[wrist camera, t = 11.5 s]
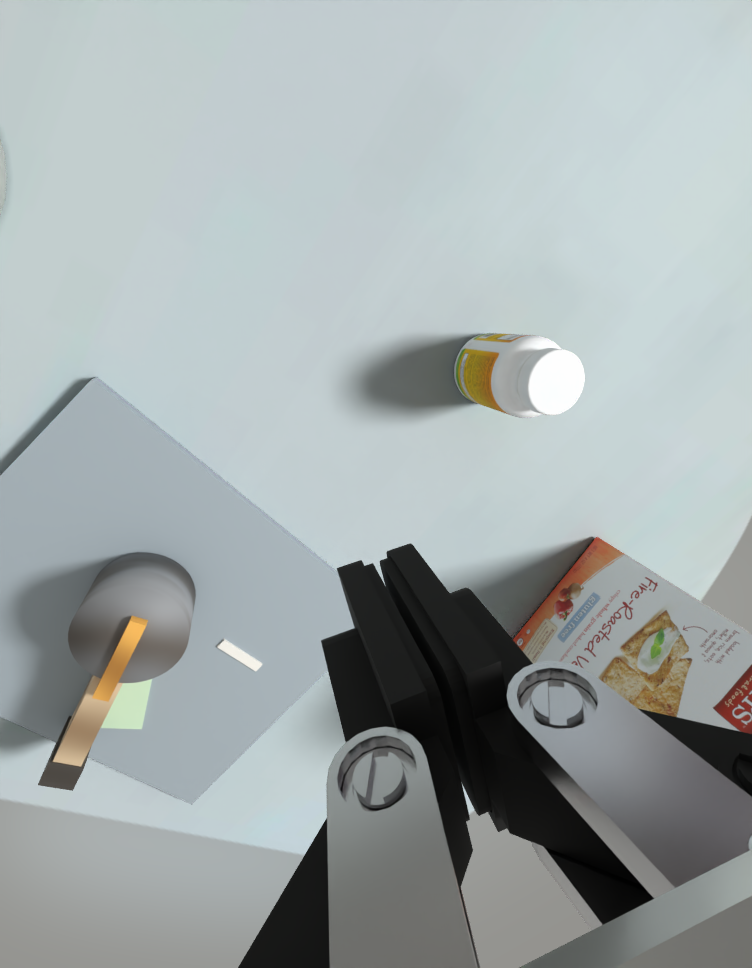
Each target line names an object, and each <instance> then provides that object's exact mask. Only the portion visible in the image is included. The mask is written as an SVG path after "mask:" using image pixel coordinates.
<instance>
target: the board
mask: <svg viewBox="0 0 752 968" xmlns="http://www.w3.org/2000/svg"><path fill="white" fill-rule="evenodd" d="M134 553H154V554H159V555H163V556H166V557H168V558H171V559H172V560H174V561H176V562H177V563H179V564H180V565H182V566H183V567H184V568H185V569H186V571H187V572H188V573H189V574H190V576H191V578H192V580H193V582H194V585H195V590H196V598H195V605H194V611H193V617H192V623H191V630H190V636H189V641H188V645H187V648H186V650H185V653H184V654H183V656H182V657H181V659H180V660H179V661H178V662H177V663H176V664H175V665H174V666H173V667H172V668H171V669H170V670H168V671H167V672H165V673H163V674H162V675H160V676H158V677H155V678H153V679H150V680H147V681H142V682H136V683H123V684H122V686H121V688H120V690H119V692H118V694H117V696H116V698H115V700H114V702H113V704H112V706H111V708H110V710H109V712H108V714H107V716H106V718H105V720H104V722H103V724H102V726H101V728H100V730H99V732H98V734H97V736H96V738H95V740H94V742H93V744H92V746H91V749H90V752H89V755H88V757H89V758H91V759H93V760H96V761H98V762H100V763H102V764H104V765H106V766H109V767H111V768H113V769H115V770H117V771H120V772H122V773H124V774H126V775H128V776H130V777H133V778H135V779H137V780H139V781H141V782H144V783H146V784H148V785H150V786H152V787H154V788H157V789H159V790H161V791H163V792H165V793H168V794H170V795H172V796H174V797H176V798H178V799H181V800H183V801H185V802H187V803H189V804H193V803H194V802H195V801H196V800H197V799H198V798H199V797H200V796H201V795H202V794H203V793H204V792H205V791H206V790H207V789H208V788H209V787H210V786H211V785H212V784H213V783H214V782H215V781H216V780H217V779H218V778H219V777H220V776H221V775H222V774H223V773H224V772H225V771H226V770H227V769H228V768H229V767H230V766H231V765H232V764H233V763H234V762H235V761H236V760H237V759H238V758H239V757H240V756H241V755H242V754H243V753H244V752H245V751H246V750H247V749H248V748H249V747H250V746H251V745H252V744H253V743H254V742H255V741H256V740H257V739H258V738H260V737H261V736H262V735H263V734H264V733H265V732H266V731H267V730H268V729H269V728H270V727H271V726H272V725H273V724H274V723H275V722H276V721H277V720H278V719H279V718H280V717H281V716H282V715H283V714H284V713H285V712H286V711H287V710H288V709H289V708H290V707H291V706H292V705H293V704H294V703H295V702H296V701H297V700H298V699H299V698H300V697H301V696H302V695H303V694H304V693H305V692H306V691H307V690H308V689H309V688H310V687H311V686H312V685H313V684H314V683H315V682H316V681H317V680H318V679H319V678H320V677H321V676H322V675H323V674H324V673H325V672H326V671H327V670H328V668H327V664H326V660H325V656H324V652H323V648H322V643H321V640H323V639H326V638H328V637H331V636H334V635H337V634H339V633H342V632H345V631H348V630H350V629H353V628H354V625H353V621H352V618H351V614H350V611H349V608H348V604H347V601H346V598H345V594H344V591H343V588H342V584H341V581H340V578H339V574H338V572H337V571H336V570H335V569H333V568H332V567H331V566H330V565H328V564H327V563H326V562H325V561H323V560H322V559H321V558H320V557H319V556H317V555H316V554H315V553H314V552H312V551H311V550H310V549H309V548H307V547H306V546H305V545H304V544H303V543H301V542H300V541H299V540H298V539H296V538H295V537H294V536H293V535H291V534H290V533H289V532H288V531H286V530H285V529H284V528H283V527H282V526H280V525H279V524H278V523H277V522H275V521H274V520H273V519H272V518H270V517H269V516H268V515H267V514H265V513H264V512H263V511H262V510H261V509H259V508H258V507H257V506H256V505H254V504H253V503H252V502H251V501H249V500H248V499H247V498H246V497H245V496H243V495H242V494H241V493H240V492H238V491H237V490H236V489H235V488H233V487H232V486H231V485H230V484H228V483H227V482H226V481H225V480H224V479H222V478H221V477H220V476H219V475H217V474H216V473H215V472H214V471H212V470H211V469H210V468H209V467H207V466H206V465H205V464H204V463H203V462H201V461H200V460H199V459H198V458H196V457H195V456H194V455H193V454H191V453H190V452H189V451H188V450H187V449H185V448H184V447H183V446H182V445H180V444H179V443H178V442H177V441H175V440H174V439H173V438H172V437H170V436H169V435H168V434H167V433H166V432H164V431H163V430H162V429H161V428H159V427H158V426H157V425H156V424H154V423H153V422H152V421H151V420H149V419H148V418H147V417H146V416H145V415H143V414H142V413H141V412H140V411H138V410H137V409H136V408H135V407H133V406H132V405H131V404H130V403H129V402H127V401H126V400H125V399H124V398H122V397H121V396H120V395H119V394H117V393H116V392H115V391H114V390H112V389H111V388H110V387H109V386H108V385H106V384H105V383H104V382H103V381H101V380H100V379H99V378H98V377H96V378H93V379H91V380H90V381H89V383H88V384H87V385H86V386H85V387H84V388H83V389H82V390H81V391H80V392H79V393H78V394H77V395H76V396H75V397H74V398H73V399H72V401H71V402H70V403H69V404H68V405H67V406H66V407H65V408H64V409H63V410H62V411H61V412H60V413H59V414H58V415H57V416H56V417H55V419H54V420H53V421H52V422H51V423H50V424H49V425H48V426H47V427H46V428H45V429H44V430H43V431H42V432H41V433H40V434H39V435H38V436H37V438H36V439H35V440H34V441H33V442H32V443H31V444H30V445H29V446H28V447H27V448H26V449H25V450H24V451H23V452H22V453H21V454H20V456H19V457H18V458H17V459H16V460H15V461H14V462H13V463H12V464H11V465H10V466H9V467H8V468H7V469H6V470H5V471H4V472H3V474H2V475H1V476H0V717H2V718H4V719H6V720H8V721H10V722H13V723H15V724H17V725H19V726H21V727H23V728H26V729H28V730H30V731H32V732H34V733H37V734H39V735H41V736H43V737H45V738H48V739H50V740H52V741H54V742H57V740H58V738H59V736H60V734H61V731H62V729H63V727H64V725H65V723H66V721H67V719H68V717H69V716H72V715H73V713H74V711H75V709H76V707H77V705H78V703H79V701H80V699H81V697H82V695H83V693H84V691H85V689H86V687H87V685H88V683H89V681H90V679H91V676H92V674H90V673H89V672H87V671H86V670H85V669H83V668H82V667H81V666H80V665H79V664H78V663H77V661H76V660H75V659H74V657H73V655H72V653H71V651H70V648H69V643H68V631H69V627H70V624H71V621H72V619H73V618H74V616H75V614H76V612H77V610H78V609H79V607H80V605H81V603H82V602H83V600H84V598H85V596H86V595H87V593H88V591H89V589H90V587H91V586H92V584H93V582H94V580H95V579H96V577H97V575H98V574H99V573H100V571H101V570H102V569H103V568H104V567H105V566H106V565H108V564H109V563H110V562H112V561H114V560H116V559H117V558H120V557H122V556H125V555H129V554H134Z"/></svg>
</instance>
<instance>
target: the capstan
mask: <svg viewBox="0 0 752 968" xmlns="http://www.w3.org/2000/svg"><path fill="white" fill-rule="evenodd" d="M195 598H196V590H195V585H194V582H193V580H192V578H191V576H190V574H189V573H188V572H187V571H186V569H185V568H184V567H183V566H182V565H180V564H179V563H177V562H176V561H174V560H172V559H171V558H168V557H166V556H163V555H159V554H154V553H134V554H129V555H125V556H122V557H120V558H117V559H116V560H114V561H112V562H110V563H109V564H108V565H106V566H105V567H104V568H103V569H102V570H101V571H100V573H99V574H98V575H97V577H96V579H95V580H94V582H93V584H92V586H91V587H90V589H89V591H88V593H87V595H86V596H85V598H84V600H83V602H82V603H81V605H80V607H79V609H78V610H77V612H76V614H75V616H74V618H73V619H72V621H71V624H70V627H69V631H68V643H69V648H70V651H71V653H72V655H73V657H74V659H75V660H76V661H77V663H78V664H79V665H80V666H81V667H82V668H83V669H85V670H86V671H87V672H89V673H90V674H92V676H91V679H90V681H89V683H88V685H87V687H86V689H85V691H84V693H83V695H82V697H81V699H80V701H79V703H78V705H77V707H76V709H75V711H74V713H73V715H72V716H69V717H68V719H67V721H66V723H65V725H64V727H63V729H62V731H61V734H60V736H59V738H58V740H57V742H56V745H55V747H54V749H53V751H52V754H51V756H50V758H49V761H48V763H47V765H46V767H45V770H44V772H43V774H42V777H41V779H40V781H39V783H38V785H41V786H47V787H53V788H60V789H66V790H72V791H73V789H74V787H75V785H76V783H77V781H78V779H79V777H80V775H81V773H82V771H83V769H84V766H85V763H86V760H87V758H88V755H89V752H90V749H91V746H92V744H93V742H94V740H95V738H96V736H97V734H98V732H99V730H100V728H101V726H102V724H103V722H104V720H105V718H106V716H107V714H108V712H109V710H110V708H111V706H112V704H113V702H114V700H115V698H116V696H117V694H118V692H119V690H120V688H121V686H122V684H123V683H136V682H142V681H147V680H150V679H153V678H155V677H158V676H160V675H162V674H163V673H165V672H167V671H168V670H170V669H171V668H172V667H173V666H174V665H175V664H176V663H177V662H178V661H179V660H180V659H181V657H182V656H183V654H184V653H185V650H186V648H187V645H188V641H189V636H190V630H191V623H192V617H193V611H194V605H195Z"/></svg>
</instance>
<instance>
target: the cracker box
mask: <svg viewBox="0 0 752 968" xmlns="http://www.w3.org/2000/svg"><path fill="white" fill-rule="evenodd" d="M513 641H514V642H515V643H516V644H517V645H518V646H519V648H520V649H521V650H522V651H523V652H524V654H525V655H526V656H527V657H528V658H529V659H530V661H531V662H532V663H533V664H534V663H537V662H545V661H560V662H567V663H570V664H574V665H577V666H580V667H582V668H583V669H585V670H587V671H589V672H590V673H592V674H594V675H595V676H596V677H597V678H599V679H600V680H601V681H603V682H604V683H605V684H606V685H608V686H609V687H610V688H612V689H613V690H614V691H616V692H617V693H618V694H619V695H621V696H622V697H623V698H625V699H626V700H627V701H628V702H630V703H631V704H632V705H634V706H635V707H636V708H638V709H643V710H647V711H652V712H656V713H661V714H665V715H669V716H674V717H678V718H683V719H687V720H692V721H696V722H700V723H705V724H709V725H714V726H718V727H723V728H727V729H731V730H736V731H740V732H745V733H749V734H752V633H750V632H749V631H747V630H745V629H744V628H742V627H741V626H739V625H737V624H736V623H734V622H733V621H731V620H729V619H728V618H726V617H725V616H723V615H722V614H720V613H718V612H717V611H715V610H713V609H712V608H710V607H708V606H707V605H705V604H704V603H702V602H700V601H699V600H697V599H696V598H694V597H692V596H691V595H689V594H688V593H686V592H684V591H683V590H681V589H680V588H678V587H677V586H675V585H673V584H672V583H670V582H669V581H667V580H665V579H664V578H662V577H661V576H659V575H658V574H656V573H654V572H653V571H651V570H650V569H648V568H646V567H645V566H643V565H642V564H640V563H638V562H637V561H635V560H633V559H632V558H630V557H629V556H627V555H625V554H624V553H622V552H620V551H619V550H617V549H616V548H614V547H613V546H611V545H609V544H608V543H606V542H605V541H603V540H601V539H600V538H598V537H596V538H595V539H594V541H593V542H592V543H591V544H590V546H589V547H588V548H587V549H586V550H585V552H584V553H583V554H582V555H581V557H580V558H579V559H578V560H577V562H576V563H575V564H574V565H573V566H572V568H571V569H570V570H569V571H568V573H567V574H566V575H565V576H564V578H563V579H562V580H561V581H560V582H559V584H558V585H557V586H556V587H555V589H554V590H553V591H552V592H551V593H550V595H549V596H548V597H547V598H546V599H545V601H544V602H543V603H542V604H541V606H540V607H539V608H538V609H537V611H536V612H535V613H534V614H533V615H532V617H531V618H530V619H529V620H528V622H527V623H526V624H525V625H524V627H523V628H522V629H521V630H520V631H519V633H518V634H517V635H516V636H515V637H514V639H513Z"/></svg>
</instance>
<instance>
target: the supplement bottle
mask: <svg viewBox="0 0 752 968" xmlns="http://www.w3.org/2000/svg"><path fill="white" fill-rule="evenodd" d="M454 378H455V382H456V385H457V387H458V389H459V391H460V392H461V393H462V394H463V395H464V396H465V397H466V398H467V399H469V400H471V401H473V402H475V403H478V404H480V405H484V406H486V407H489V408H492V409H495V410H498V411H501V412H504V413H506V414H509V415H512V416H516V417H520V418H532V417H536V416H539V415H542V414H545V415H557V414H560V413H563V412H565V411H566V410H568V409H569V408H570V407H572V406H573V405H574V403H575V402H576V401H577V400H578V398H579V396H580V394H581V392H582V389H583V386H584V379H585V376H584V368H583V365H582V363H581V361H580V360H579V358H578V357H577V356H576V355H575V354H573V353H572V352H570V351H567V350H564V349H561V348H560V347H559V346H558V345H557V344H556V343H555V342H553V341H551V340H550V339H547V338H545V337H541V336H535V335H516V334H497V333H487V334H481V335H478V336H476V337H474V338H472V339H471V340H469V341H468V342H467V343H466V344H465V345H464V346H463V347H462V349H461V350H460V352H459V354H458V356H457V358H456V362H455V366H454Z"/></svg>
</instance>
